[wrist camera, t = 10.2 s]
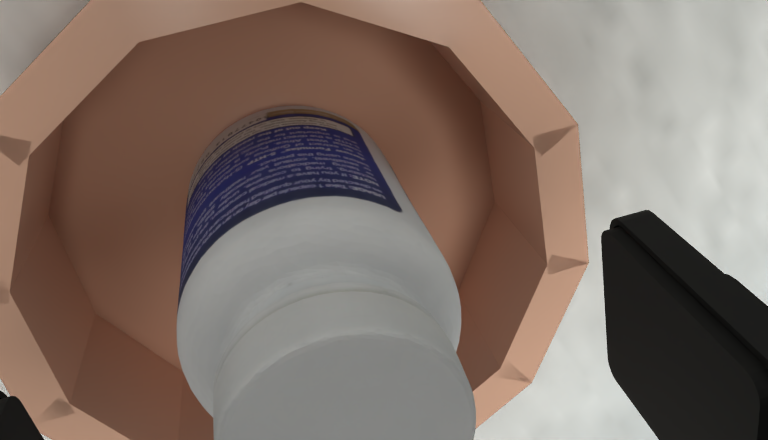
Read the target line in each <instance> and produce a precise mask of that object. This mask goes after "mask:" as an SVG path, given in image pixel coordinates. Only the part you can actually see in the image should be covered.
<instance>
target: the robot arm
mask: <svg viewBox="0 0 768 440" xmlns="http://www.w3.org/2000/svg"><path fill="white" fill-rule="evenodd" d="M601 244H602V262H603V280H604V298H605V316H606V335H607V353H608V362H609V366H610V369H611V372H612V374H613V376H614V378H615V380H616V381H617V383H618V384H619V385H620V387H621V388H622V389H623V391H624V392H625V394H626V395H627V396H628V398H629V399H630V400H631V402H632V403H633V405H634V406H635V407H636V409H637V410H638V411H639V413H640V414H641V415H642V417H643V418H644V420H645V421H646V422H647V424H648V425H649V426H650V428H651V429H652V431H653V432H654V433H655V435H656V436H657V437H658V439H659V440H768V306H767V305H766V304H764V303H763V302H762V301H761V300H760V299H759V298H757V297H756V296H755V295H754V294H753V293H751V292H750V291H749V290H748V289H747V288H746V287H744V286H743V285H742V284H741V283H740V282H738V281H737V280H736V279H734V278H733V277H731V276H730V275H728V274H724V273H723V272H722V271H720V270H719V269H718V268H717V267H716V266H715V265H713V264H712V263H711V262H710V261H709V260H708V259H706V258H705V257H704V256H703V255H702V254H701V253H699V252H698V251H697V250H696V249H695V248H694V247H692V246H691V245H690V244H689V243H688V242H687V241H685V240H684V239H683V238H682V237H681V236H679V235H678V234H677V233H676V232H675V231H674V230H672V229H671V228H670V227H669V226H668V225H667V224H665V223H664V222H663V221H662V220H661V219H660V218H658V217H657V216H656V215H655V214H654V213H652V212H651V211H649V210H644V211H640V212H637V213H633V214H630V215H626V216H622V217H619V218H615V219H613V220H612V221H611V224H610V229H609V230H606V231H604V232H603V233H602V236H601ZM0 440H44V439H43V437H42V435H41V434H40V432H39V430H38V429H37V427H36V426H35V424H34V422H33V421H32V419H31V417H30V416H29V414H28V412H27V411H26V409H25V407H24V406H23V404H22V402H21V401H20V400H19V398H17V397H16V396H10V397H7V396H6V394H4V393H3V392H1V391H0Z"/></svg>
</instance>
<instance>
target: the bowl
mask: <svg viewBox="0 0 768 440" xmlns="http://www.w3.org/2000/svg"><path fill="white" fill-rule="evenodd" d="M279 106H309V107H315V108H320V109H324V110H327V111H330V112H333V113H336V114H338V115H341V116H343V117H345V118H347V119H348V120H350V121H352V122H353V123H355V124H356V125H358V126H359V127H360V128H361V129H363V130H364V131H365V132H366V133H367V134H368V135H369V136H370V137H371V138H372V139H373V140H374V142H375V143H376V144H377V146H378V147H379V148H380V150H381V151H382V153H383V155H384V156H385V158H386V160H387V161H388V163H389V164H390V165H391V167H392V169H393V171H394V173H395V174H396V177H397V179H398V181H399V183H400V184H401V186H402V188H403V189H404V191H405V193H406V195H407V196H408V198H409V200H410V202H411V203H412V205H413V207H414V208H415V210H416V212H417V213H418V215H419V217H420V218H421V220H422V222H423V223H424V225H425V226H426V228H427V230H428V231H429V233H430V234H431V236H432V238H433V240H434V241H435V243H436V245H437V246H438V248H439V250H440V251H441V253H442V255H443V256H444V258H445V260H446V262H447V264H448V266H449V268H450V270H451V273H452V275H453V278H454V281H455V283H456V286H457V289H458V293H459V298H460V305H461V332H460V339H459V344H458V347H457V351H456V354H457V356H458V358H459V360H460V362H461V365H462V367H463V370H464V372H465V374H466V376H467V379H468V381H469V383H470V386H471V388H472V392H473V395H474V401H475V407H476V428H477V427H478V426H480V425H481V424H482V423H483V422H484V421H486V420H487V419H488V418H489V417H491V416H492V415H493V414H494V413H495V412H497V411H498V410H499V409H500V408H501V407H503V406H504V405H505V404H506V403H508V402H509V401H510V400H511V399H512V398H514V397H515V396H516V395H517V394H518V393H520V392H521V391H522V390H523V389H525V388H526V387H527V386H528V385H529V384H531V383H532V381H533V379H534V377H535V375H536V373H537V370H538V368H539V366H540V364H541V362H542V360H543V358H544V356H545V354H546V352H547V349H548V347H549V345H550V343H551V341H552V339H553V337H554V335H555V333H556V331H557V328H558V326H559V324H560V322H561V320H562V318H563V316H564V314H565V312H566V310H567V307H568V305H569V303H570V301H571V299H572V297H573V295H574V293H575V291H576V289H577V286H578V284H579V282H580V280H581V278H582V276H583V274H584V272H585V270H586V268H587V265H588V263H589V259H588V246H587V233H586V221H585V208H584V195H583V183H582V170H581V157H580V144H579V132H578V124H577V122H576V121H575V120H574V119H573V117H572V116H571V115H570V113H569V112H568V111H567V110H566V108H565V107H564V106H563V105H562V103H561V102H560V101H559V100H558V98H557V97H556V96H555V94H554V93H553V92H552V91H551V89H550V88H549V87H548V86H547V84H546V83H545V82H544V80H543V79H542V78H541V77H540V75H539V74H538V73H537V72H536V70H535V69H534V68H533V66H532V65H531V64H530V63H529V61H528V60H527V59H526V58H525V56H524V55H523V54H522V53H521V51H520V50H519V49H518V47H517V46H516V45H515V44H514V42H513V41H512V40H511V39H510V37H509V36H508V35H507V33H506V32H505V31H504V30H503V28H502V27H501V26H500V25H499V23H498V22H497V21H496V19H495V18H494V17H493V16H492V14H491V13H490V12H489V11H488V9H487V8H486V7H485V6H484V4H483V3H482V2H481V0H90V1H89V2H88V4H87V5H86V6H85V7H84V8H83V9H82V10H81V11H80V12H79V13H78V14H77V15H76V16H75V17H74V18H73V20H72V21H71V22H70V23H69V24H68V25H67V26H66V27H65V28H64V29H63V30H62V31H61V32H60V33H59V34H58V35H57V37H56V38H55V39H54V40H53V41H52V42H51V43H50V44H49V45H48V46H47V47H46V48H45V49H44V50H43V51H42V53H41V54H40V55H39V56H38V57H37V58H36V59H35V60H34V61H33V62H32V63H31V64H30V65H29V66H28V67H27V68H26V70H25V71H24V72H23V73H22V74H21V75H20V76H19V77H18V78H17V79H16V80H15V81H14V82H13V83H12V84H11V86H10V87H9V88H8V89H7V90H6V91H5V92H4V93H3V94H2V95H1V96H0V379H1V380H2V382H3V384H4V385H5V387H6V389H7V391H8V392H9V394H10V396H16V397H17V398H19V400H20V401H21V402H22V404H23V406H24V407H25V409H26V411H27V412H28V414H29V416H30V417H31V419H32V421H33V422H34V424H35V426H36V427H37V429H38V430H39V432H40V433H41V434H43V435H45V436H47V437H49V438H50V439H52V440H214V430H213V417H212V416H211V415H210V414H209V413H208V412H207V411H206V410H205V409H204V407H203V406H202V405H201V404H200V402H199V401H198V399H197V398H196V396H195V395H194V393H193V392H192V390H191V389H190V386H189V384H188V382H187V380H186V377H185V375H184V373H183V370H182V367H181V363H180V360H179V356H178V349H177V309H178V297H179V287H180V275H181V263H182V252H183V240H184V226H185V214H186V203H187V195H188V189H189V184H190V180H191V177H192V174H193V171H194V169H195V167H196V165H197V163H198V161H199V159H200V157H201V156H202V154H203V153H204V151H205V150H206V148H207V147H208V146H209V145H210V144H211V142H212V141H213V140H214V139H215V138H216V137H217V136H218V135H219V134H220V133H222V132H223V131H224V130H225V129H226V128H228V127H229V126H231V125H232V124H234V123H235V122H237V121H239V120H241V119H243V118H244V117H246V116H248V115H251V114H253V113H256V112H258V111H262V110H265V109H270V108H274V107H279ZM476 428H475V429H476Z"/></svg>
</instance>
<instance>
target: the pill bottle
mask: <svg viewBox="0 0 768 440" xmlns="http://www.w3.org/2000/svg"><path fill="white" fill-rule="evenodd" d="M460 332H461V305H460V298H459V293H458V289H457V286H456V283H455V281H454V278H453V275H452V273H451V270H450V268H449V266H448V264H447V262H446V260H445V258H444V256H443V255H442V253H441V251H440V250H439V248H438V246H437V245H436V243H435V241H434V240H433V238H432V236H431V234H430V233H429V231H428V230H427V228H426V226H425V225H424V223H423V222H422V220H421V218H420V217H419V215H418V213H417V212H416V210H415V208H414V207H413V205H412V203H411V202H410V200H409V198H408V196H407V195H406V193H405V191H404V189H403V188H402V186H401V184H400V183H399V181H398V179H397V177H396V174H395V173H394V171H393V169H392V167H391V165H390V164H389V163H388V161H387V160H386V158H385V156H384V155H383V153H382V151H381V150H380V148H379V147H378V146H377V144H376V143H375V142H374V140H373V139H372V138H371V137H370V136H369V135H368V134H367V133H366V132H365V131H364V130H363V129H361V128H360V127H359V126H358V125H356V124H355V123H353V122H352V121H350V120H348V119H347V118H345V117H343V116H341V115H338V114H336V113H333V112H330V111H327V110H324V109H320V108H315V107H309V106H279V107H274V108H270V109H265V110H262V111H258V112H256V113H253V114H251V115H248V116H246V117H244V118H243V119H241V120H239V121H237V122H235V123H234V124H232V125H231V126H229V127H228V128H226V129H225V130H224V131H223V132H222V133H220V134H219V135H218V136H217V137H216V138H215V139H214V140H213V141H212V142H211V144H210V145H209V146H208V147H207V148H206V150H205V151H204V153H203V154H202V156H201V157H200V159H199V161H198V163H197V165H196V167H195V169H194V171H193V174H192V177H191V180H190V184H189V189H188V195H187V203H186V214H185V226H184V240H183V252H182V263H181V275H180V287H179V297H178V309H177V349H178V356H179V360H180V363H181V367H182V370H183V373H184V375H185V377H186V380H187V382H188V384H189V386H190V389H191V390H192V392H193V393H194V395H195V396H196V398H197V399H198V401H199V402H200V404H201V405H202V406H203V407H204V409H205V410H206V411H207V412H208V413H209V414H210V415H211V416H212V417H213V430H214V440H473V439H474V434H475V428H476V407H475V401H474V395H473V392H472V388H471V386H470V383H469V381H468V379H467V376H466V374H465V372H464V370H463V367H462V365H461V362H460V360H459V358H458V356H457V354H456V351H457V347H458V344H459V339H460Z"/></svg>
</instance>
